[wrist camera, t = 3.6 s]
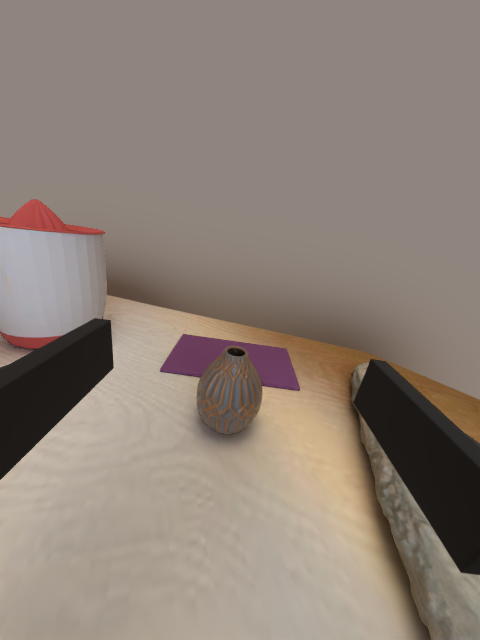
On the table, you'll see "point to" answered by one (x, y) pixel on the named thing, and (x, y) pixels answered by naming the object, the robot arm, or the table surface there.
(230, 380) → the vase
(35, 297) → the citrus juicer
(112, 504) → the table surface
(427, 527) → the long grey stone
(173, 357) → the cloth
